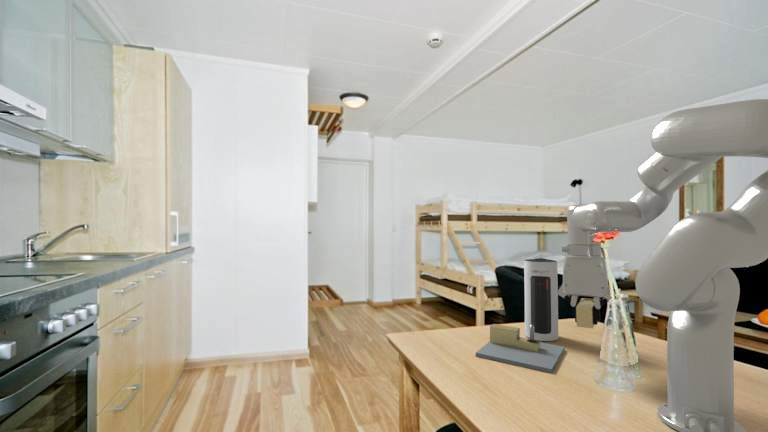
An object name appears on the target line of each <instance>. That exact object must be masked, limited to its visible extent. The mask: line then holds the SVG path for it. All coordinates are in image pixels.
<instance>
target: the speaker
mask: <svg viewBox="0 0 768 432" xmlns="http://www.w3.org/2000/svg"><path fill="white" fill-rule="evenodd" d="M523 265H524V266H523V273H524V274H523V275H524V277H523V279H524V280H523V282H524V286H523V287H524V335H525V338H529V339H530V325H534V339H535V340H540V341H541V342H543V343H545V342H546V343H547V342H556V341H558V340H559V295H558V294H557V291H558V290H559V289H558V288H559V287H558V285H559V283H558V282H559V281H558V280H559V279H558V261H557V259H556V260H553V259H547V258H543V257H542V258H541V257H538V258H537V257H536V258H532V259H531V258H529V259H524V260H523Z"/></svg>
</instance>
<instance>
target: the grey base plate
mask: <svg viewBox="0 0 768 432" xmlns="http://www.w3.org/2000/svg"><path fill="white" fill-rule="evenodd" d="M564 352H565V346H561V345H556V344H551V343H547V342H546V343H545V342H541V349H540V350H539V352H533V351H528V350H523V349H519V348H514V347H509V346H504V345H499V344H494V343H490V340H489V341H488V342H486V343H485V344H484V345H483V346H482V347H480V348H479V349H478V350H477V351H476V352H475V357H478V358H483V359H486V360H492V361H497V362H501V363H504V364H505V363H506V364H509V365H513V366H518V367H523V368H527V369H532V370H537V371H539V372H540V371H541V372H545V373H549V374H552V373H553V371H554V370H555V368H556V366H557V364H558V363H559V361H560V359H561V357H562V355H563V353H564Z"/></svg>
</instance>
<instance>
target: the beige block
mask: <svg viewBox="0 0 768 432" xmlns="http://www.w3.org/2000/svg"><path fill="white" fill-rule="evenodd" d="M594 305H595V303H594V298H586V297H584V298H583V297H582V298H580V300H579V302H578V305H577V306H576V320H577V322H576V327H578V328H585V329H594V327H595V325H594V320H593V309H594Z"/></svg>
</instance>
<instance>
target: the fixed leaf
mask: <svg viewBox="0 0 768 432" xmlns="http://www.w3.org/2000/svg"><path fill="white" fill-rule="evenodd" d="M520 329H521V328H520V327H516V326H515V327H514V326H507V325H504V324H497V323H492V325H490V326H489V341H490V343H494V344H499V345H504V346H509V347H514V348H519V349H523V350H528V351H533V352H539V350H540V349H541V343H542V341H540V340H535V339H534V325H530V338H528V337H520V336H521V333H520Z"/></svg>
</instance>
